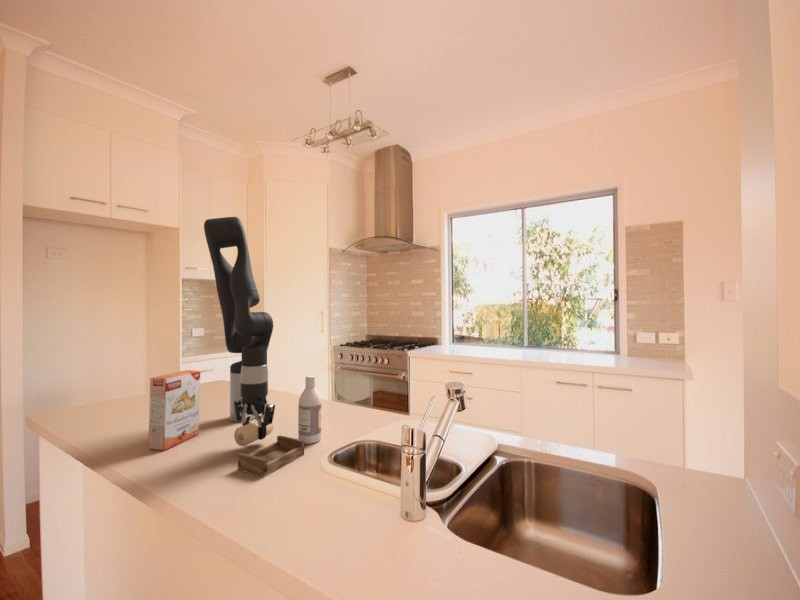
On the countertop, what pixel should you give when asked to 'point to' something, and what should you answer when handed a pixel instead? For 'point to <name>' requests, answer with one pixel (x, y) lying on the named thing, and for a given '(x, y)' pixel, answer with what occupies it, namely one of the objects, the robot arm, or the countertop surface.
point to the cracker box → (173, 409)
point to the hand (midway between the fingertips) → (254, 437)
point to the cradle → (271, 456)
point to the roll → (249, 433)
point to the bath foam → (309, 413)
